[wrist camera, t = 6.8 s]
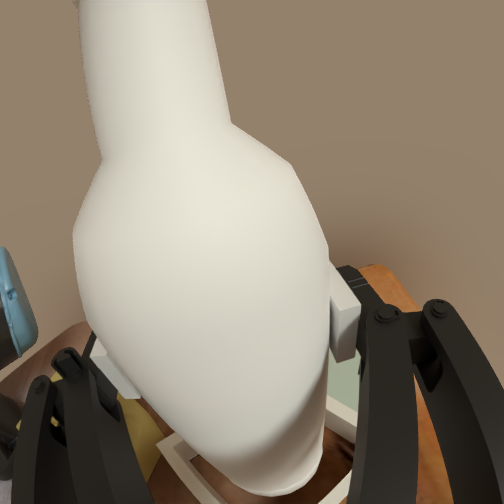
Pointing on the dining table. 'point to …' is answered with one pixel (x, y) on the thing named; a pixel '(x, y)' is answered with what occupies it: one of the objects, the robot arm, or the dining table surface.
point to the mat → (344, 381)
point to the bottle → (200, 250)
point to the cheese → (136, 432)
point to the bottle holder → (178, 458)
